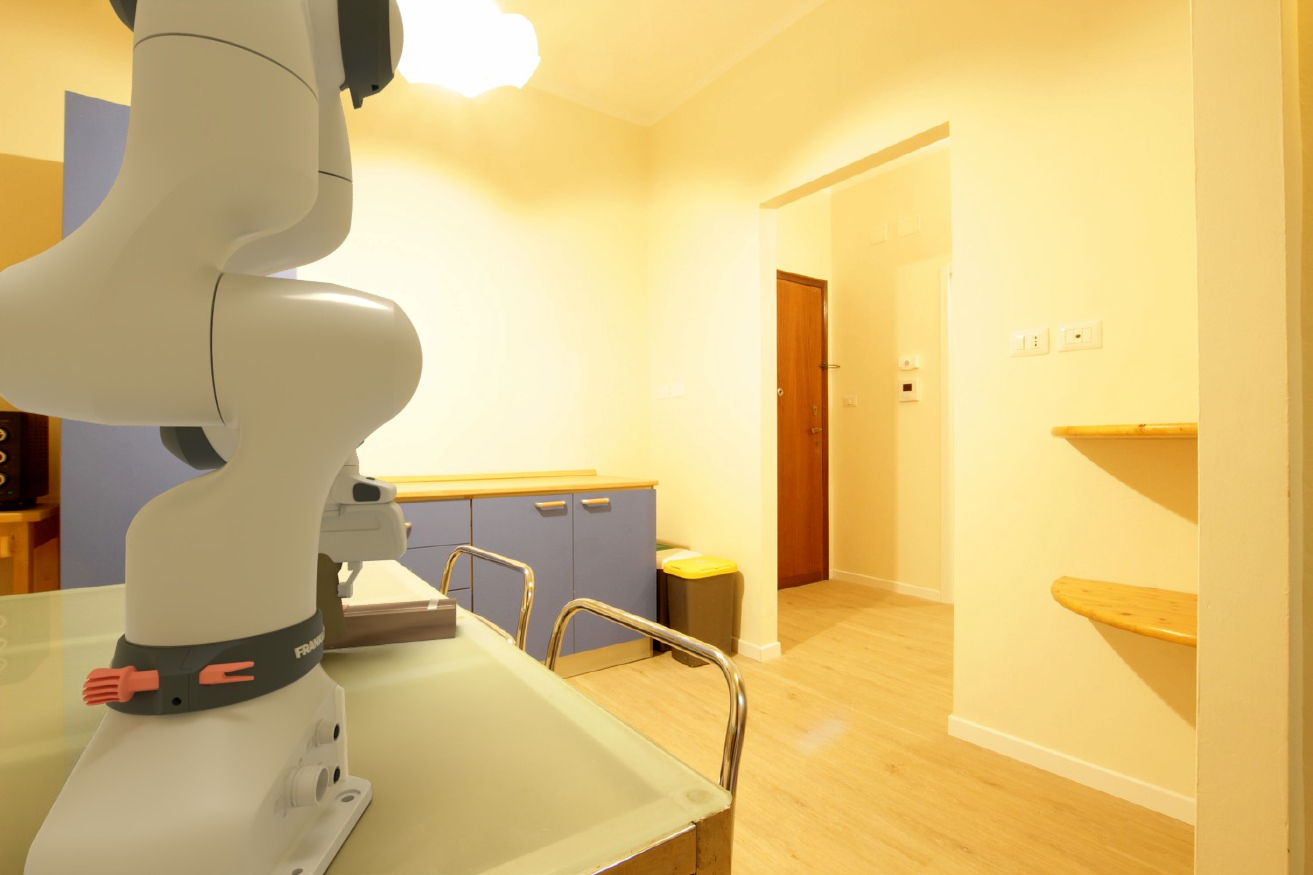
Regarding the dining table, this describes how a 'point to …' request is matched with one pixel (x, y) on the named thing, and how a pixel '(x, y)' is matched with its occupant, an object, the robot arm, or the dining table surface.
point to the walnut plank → (397, 622)
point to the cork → (329, 598)
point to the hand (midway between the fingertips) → (319, 598)
